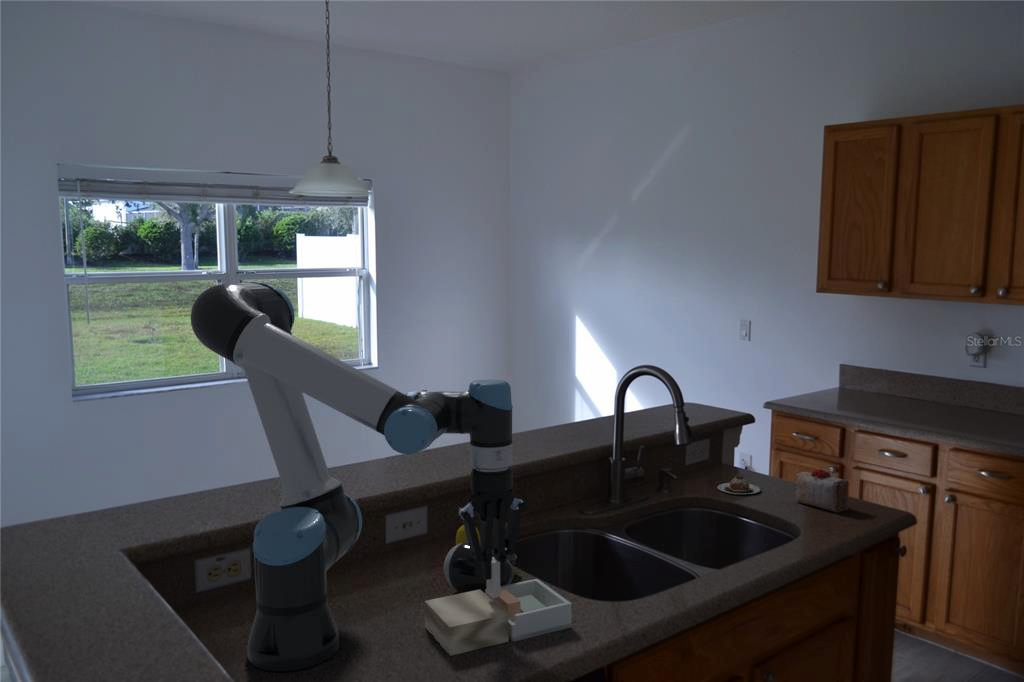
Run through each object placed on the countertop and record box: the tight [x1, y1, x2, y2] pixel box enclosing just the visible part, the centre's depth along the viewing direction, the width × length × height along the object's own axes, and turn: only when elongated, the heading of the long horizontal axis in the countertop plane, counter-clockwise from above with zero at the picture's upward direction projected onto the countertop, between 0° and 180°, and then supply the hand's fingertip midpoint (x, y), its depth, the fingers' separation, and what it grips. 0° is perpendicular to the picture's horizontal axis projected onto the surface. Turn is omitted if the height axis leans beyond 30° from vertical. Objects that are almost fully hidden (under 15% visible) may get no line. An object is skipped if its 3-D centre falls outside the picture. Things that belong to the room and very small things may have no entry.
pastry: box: [717, 474, 762, 496], centre depth 230 cm, size 12×12×5 cm
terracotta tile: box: [494, 589, 521, 622], centre depth 145 cm, size 4×6×2 cm
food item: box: [794, 469, 850, 514], centre depth 214 cm, size 14×8×10 cm, turn 35°
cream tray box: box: [424, 589, 510, 656], centre depth 141 cm, size 11×12×5 cm
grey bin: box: [485, 578, 573, 643], centre depth 146 cm, size 12×13×4 cm
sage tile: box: [517, 595, 546, 613], centre depth 146 cm, size 4×6×2 cm
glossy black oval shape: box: [443, 541, 515, 594], centre depth 157 cm, size 10×10×15 cm
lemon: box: [455, 524, 480, 546], centre depth 178 cm, size 6×6×8 cm
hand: (493, 594), depth 143 cm, fingers closed
